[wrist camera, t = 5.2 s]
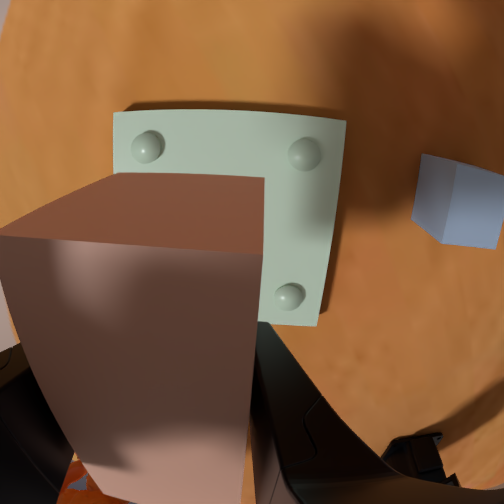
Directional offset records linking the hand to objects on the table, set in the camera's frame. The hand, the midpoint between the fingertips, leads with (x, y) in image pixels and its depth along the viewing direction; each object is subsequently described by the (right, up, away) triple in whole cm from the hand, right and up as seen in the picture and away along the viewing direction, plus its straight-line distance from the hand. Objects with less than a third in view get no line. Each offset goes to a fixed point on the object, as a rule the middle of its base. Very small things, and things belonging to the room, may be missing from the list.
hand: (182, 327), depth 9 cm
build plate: (0, +4, +9) cm, 10 cm away
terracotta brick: (0, 0, +1) cm, 1 cm away
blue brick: (+14, +6, +8) cm, 17 cm away
